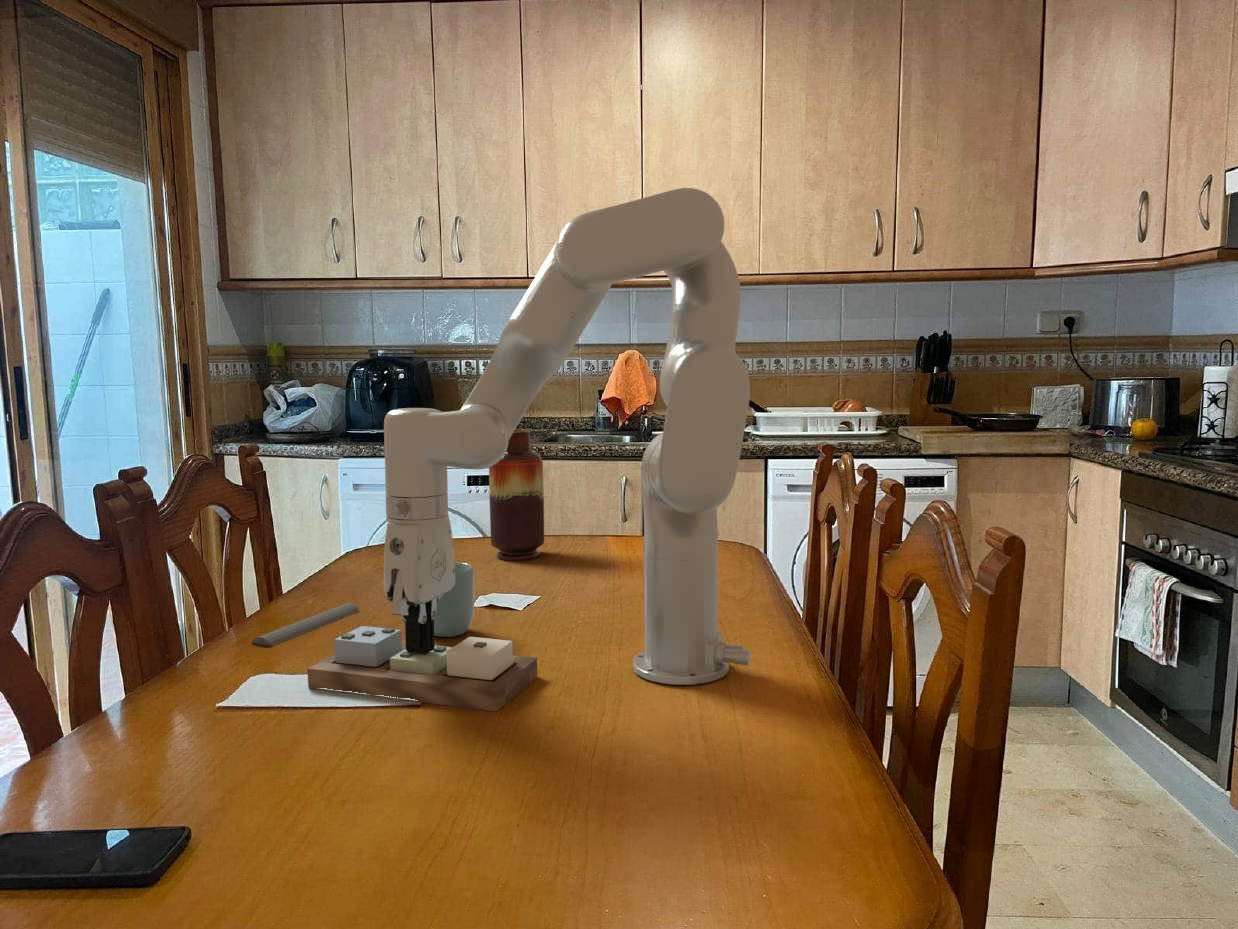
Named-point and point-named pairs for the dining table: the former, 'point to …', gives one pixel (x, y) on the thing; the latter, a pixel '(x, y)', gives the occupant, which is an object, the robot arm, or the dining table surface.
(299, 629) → the gray half cylinder
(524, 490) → the vase
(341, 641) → the tile
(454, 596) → the cup
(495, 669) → the tile
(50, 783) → the dining table surface
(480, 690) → the board
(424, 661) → the tile
